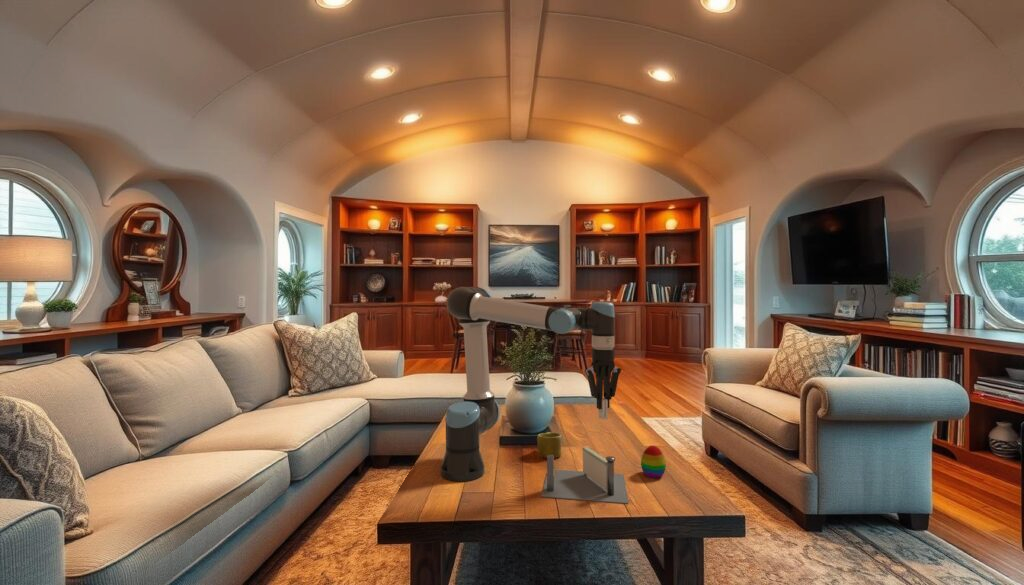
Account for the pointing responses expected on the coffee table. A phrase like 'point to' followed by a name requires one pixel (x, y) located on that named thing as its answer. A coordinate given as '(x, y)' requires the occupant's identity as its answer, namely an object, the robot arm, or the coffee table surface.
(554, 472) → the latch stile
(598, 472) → the gate
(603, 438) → the coffee table surface
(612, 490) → the hinge post
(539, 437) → the mug
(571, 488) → the mat
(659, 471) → the decorative egg
